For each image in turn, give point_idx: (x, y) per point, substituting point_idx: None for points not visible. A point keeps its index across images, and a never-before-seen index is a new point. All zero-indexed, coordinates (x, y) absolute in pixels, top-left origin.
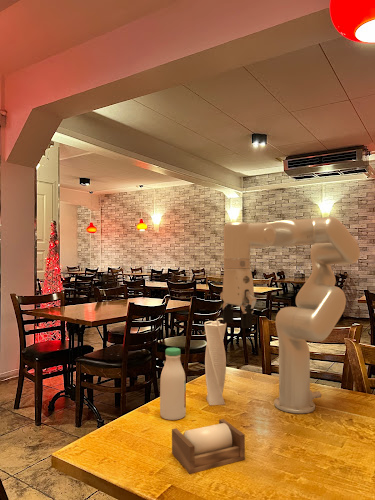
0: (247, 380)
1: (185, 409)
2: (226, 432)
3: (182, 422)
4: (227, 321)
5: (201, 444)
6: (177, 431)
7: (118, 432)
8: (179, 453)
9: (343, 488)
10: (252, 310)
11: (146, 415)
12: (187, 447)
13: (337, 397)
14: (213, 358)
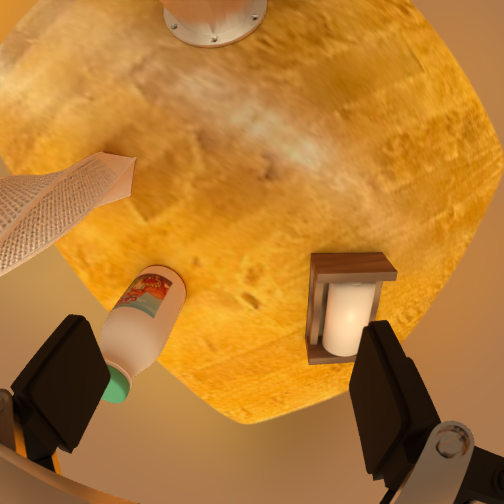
0: (36, 52)
1: (169, 275)
2: (372, 296)
3: (199, 285)
4: (102, 365)
5: None
6: (321, 360)
7: (205, 374)
8: None
9: (490, 177)
10: (480, 453)
11: None
12: None
13: None
14: (65, 221)
